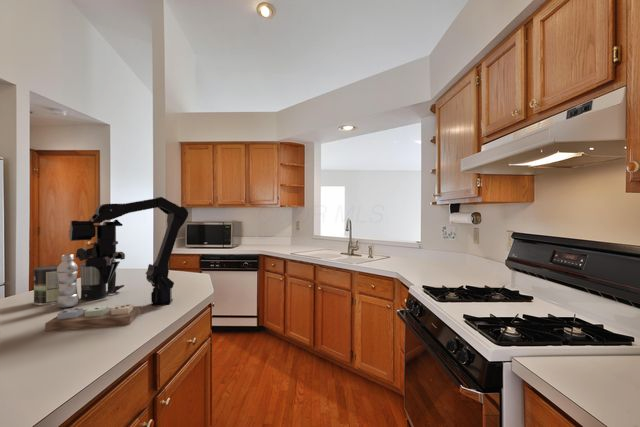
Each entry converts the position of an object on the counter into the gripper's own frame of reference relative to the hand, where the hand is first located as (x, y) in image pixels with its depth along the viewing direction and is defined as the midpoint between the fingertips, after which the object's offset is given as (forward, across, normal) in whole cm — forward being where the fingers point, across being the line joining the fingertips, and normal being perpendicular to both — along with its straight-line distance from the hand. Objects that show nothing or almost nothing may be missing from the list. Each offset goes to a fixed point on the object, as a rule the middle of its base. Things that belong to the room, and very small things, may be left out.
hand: (106, 283), depth 112 cm
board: (+11, +8, 0) cm, 14 cm away
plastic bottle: (+11, -14, -18) cm, 25 cm away
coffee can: (+11, -25, -29) cm, 40 cm away
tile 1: (+9, +8, 0) cm, 12 cm away
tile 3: (+9, +8, +8) cm, 14 cm away
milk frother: (+11, -30, -12) cm, 34 cm away
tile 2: (+9, +8, -8) cm, 14 cm away
